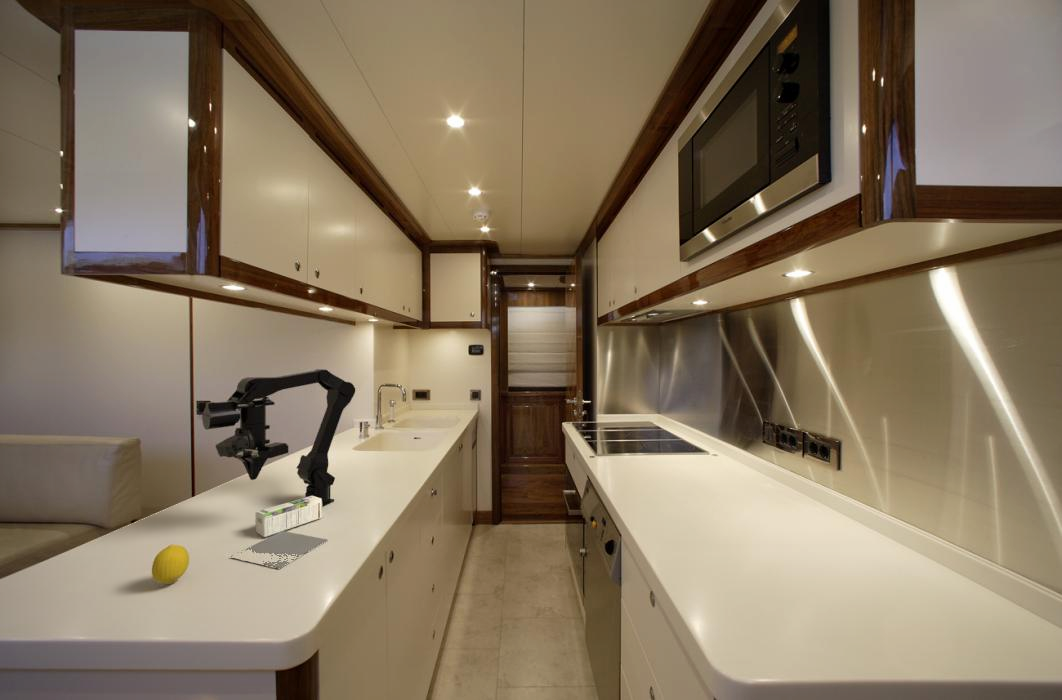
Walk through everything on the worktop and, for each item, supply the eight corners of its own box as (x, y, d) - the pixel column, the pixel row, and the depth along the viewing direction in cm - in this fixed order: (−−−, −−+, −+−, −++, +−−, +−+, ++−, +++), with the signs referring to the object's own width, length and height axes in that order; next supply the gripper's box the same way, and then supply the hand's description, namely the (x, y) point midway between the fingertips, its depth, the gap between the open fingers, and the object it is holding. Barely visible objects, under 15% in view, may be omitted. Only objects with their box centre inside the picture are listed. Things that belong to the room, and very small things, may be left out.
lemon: (146, 595, 73) (146, 554, 73) (158, 580, 78) (158, 541, 78) (183, 587, 75) (183, 548, 76) (192, 573, 80) (193, 536, 80)
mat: (282, 532, 99) (282, 530, 99) (327, 541, 94) (327, 539, 94) (230, 558, 86) (230, 556, 86) (279, 569, 82) (279, 567, 82)
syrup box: (255, 511, 98) (313, 493, 110) (255, 533, 98) (313, 514, 110) (263, 515, 95) (322, 497, 107) (264, 538, 95) (323, 517, 107)
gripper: (195, 427, 97) (195, 486, 97) (250, 431, 92) (250, 493, 93) (238, 419, 108) (239, 472, 108) (289, 422, 103) (290, 478, 103)
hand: (253, 479), depth 103 cm, fingers closed
